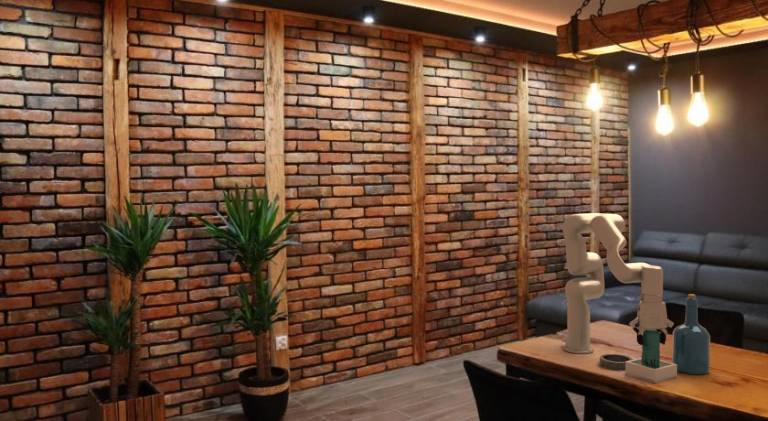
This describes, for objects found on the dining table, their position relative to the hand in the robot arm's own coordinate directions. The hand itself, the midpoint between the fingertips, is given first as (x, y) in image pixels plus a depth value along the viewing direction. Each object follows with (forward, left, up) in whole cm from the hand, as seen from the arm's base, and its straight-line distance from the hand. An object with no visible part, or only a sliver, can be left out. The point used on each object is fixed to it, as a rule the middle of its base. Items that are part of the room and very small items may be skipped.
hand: (651, 343), depth 246 cm
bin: (0, 0, -12) cm, 12 cm away
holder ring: (-16, 0, -12) cm, 20 cm away
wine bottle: (+4, +19, -13) cm, 23 cm away
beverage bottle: (0, 0, -12) cm, 12 cm away
